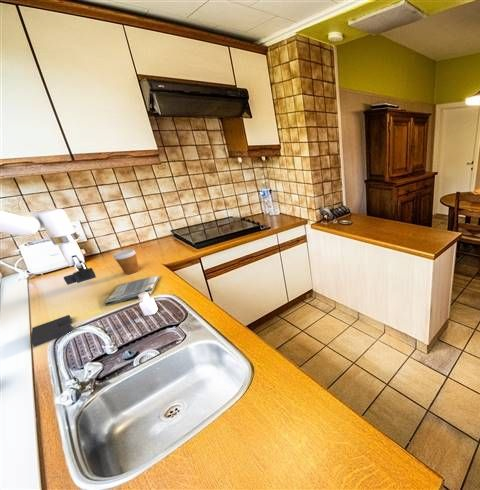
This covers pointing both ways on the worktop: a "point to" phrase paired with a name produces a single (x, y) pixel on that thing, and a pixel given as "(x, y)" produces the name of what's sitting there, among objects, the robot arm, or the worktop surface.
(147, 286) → the dish towel
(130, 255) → the disposable coffee cup
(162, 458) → the worktop surface
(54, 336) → the charcoal pad
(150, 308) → the pepper shaker
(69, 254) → the robot arm
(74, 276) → the black pad
